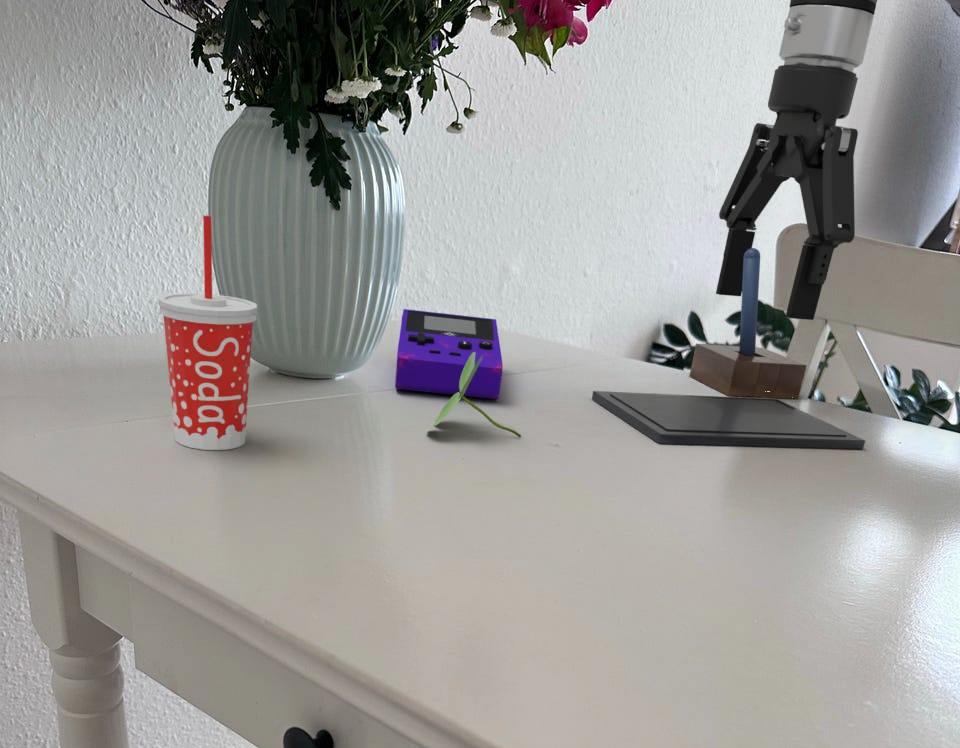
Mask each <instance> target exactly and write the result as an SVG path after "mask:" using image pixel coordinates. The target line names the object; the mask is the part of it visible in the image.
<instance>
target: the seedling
mask: <svg viewBox="0 0 960 748" xmlns="http://www.w3.org/2000/svg"><path fill="white" fill-rule="evenodd" d="M475 354H476V353H475V352H473V353H472V354H471V355H470V357H469V358H468V360H467V362H466V364H465V366H464V369H463V371H462V374H461V377H460V381H459V389H460V393H459V392H457V393H456V394H454V395H452V396H451V397H450V399H449V400H448V401H447V402H446V403H445V404H444V406H443V407H442V409H441V411H440V412H439V414H438V416H437V417H436V419H435V421H434V423H433V425H432V426H431V427H430V428H429V431H431V430H432V429H433V428H434V427H435V426H437V425H438V424H440V422H442V421H443V419H445V418H446V416H447V415H448V414H449V413H450V412H451V411H452V409H453V408H454V407H455V406H456V405H457V403H459V401H460V400H461V399H462V400H463V401H464V402H465V403H467V404H468V405H470V406H471V407H472V408H473V409H475V410H476V411H478V412H479V413H480V414H481V415H483V416H484V417H485V418H486V419H487V420H488V421H489V422H490V423H491V424H492V425H494V426H496V427H497V428H499V429H501V430H505V431H506V432H507V431H508V432H510V433H512V434H513V435H515V436H516V437H518V438H519V439H520V438H521V437H522V435H521V434H520V433H519V432H518V431H516V430H514V429H512V428H509V427H507V426H504V425H502V424H499V423H498V422H496V421H494V419H492V418H491V417H490V416H489V415H488V414H487V413H486V412H485V411H484V410H483V409H481V408H480V407H479V406H477V405H476V404H474V403H473V402H472V401H470V400H469V399H468V398H467V397H466V396H463V395H464V393H465V391H466V389H467V387H468V385H469V383H470V381H471V379H472V377H473V375H474V373H475V372H476V370H477V368H478V366H479V364H480V362H481V359H482V357H483V356H481V357H480V359H479V360H478V362H477V363H476V365H475ZM474 365H475V367H474Z"/></svg>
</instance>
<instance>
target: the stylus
mask: <svg viewBox="0 0 960 748" xmlns="http://www.w3.org/2000/svg"><path fill="white" fill-rule="evenodd" d="M760 270H761V252H760V250H758V248H755V247H752V248H750V249H748V250H747V251H746V252H745V254H744V262H743V284H742V294H741V304H740V305H741V307H740V308H741V309H740V329H739V330H740V331H739V346H740V349H739V353H740V354H742V355H745V356H752V357H755V347H756V343H757V341H756V340H757V325H758V324H757V322H758V308H759V289H760V288H759V287H760Z"/></svg>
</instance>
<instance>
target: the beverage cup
mask: <svg viewBox="0 0 960 748" xmlns="http://www.w3.org/2000/svg"><path fill="white" fill-rule="evenodd" d="M202 219H203V220H202V221H203V222H202V223H203V224H202V225H203V285H204V293H196V292H195V293H194V292H193V293H191V292H180V293H178V292H177V293H167V294H163V295H160V296H158V299H157V301H158V302H157V305H158V306H159V310H158V313H159V314H161V315H162V316H163V317H162V318H163V325H164V327H163V328H164V336H165V344H166V345H165V347H166V348H165V349H166V358H167V368H168V378H169V388H170V401H171V410H172V420H173V432H174V440H175V442H176V443H178V444H179V445H181V446H185V447H188V448H190V449H197V450H204V451H224V450H225V451H226V450H227V451H228V450H232V449H237V448H240V447H242V446H244V445H245V444H246V432H247V417H248V416H247V415H248V414H247V413H248V402H249V388H250V387H249V384H250V372H251V371H250V368H251V356H252V355H251V354H252V338H253V325H254V322H255V321H257V313H258V304H257V303H255V302H253V301H250V300H248V299H244V298H240V297H235V296H229V295H222V294H213V253H212V251H213V250H212V243H213V242H212V216H211V215H206V214H205V215H203V216H202Z"/></svg>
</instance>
